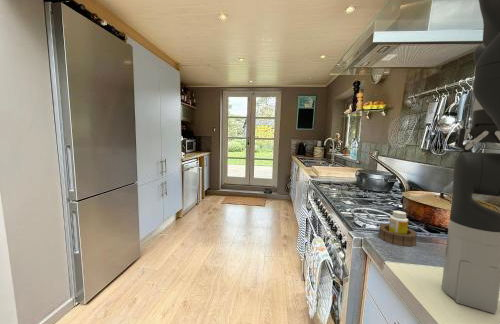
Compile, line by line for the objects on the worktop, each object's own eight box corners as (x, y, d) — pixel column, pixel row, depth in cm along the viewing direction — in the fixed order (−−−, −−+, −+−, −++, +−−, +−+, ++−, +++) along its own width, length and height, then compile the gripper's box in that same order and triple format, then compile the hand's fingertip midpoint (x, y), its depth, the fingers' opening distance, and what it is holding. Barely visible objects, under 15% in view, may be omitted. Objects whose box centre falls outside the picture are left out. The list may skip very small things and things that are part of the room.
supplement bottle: (408, 240, 81) (411, 212, 80) (403, 244, 78) (406, 215, 77) (391, 234, 85) (393, 208, 84) (385, 238, 82) (388, 211, 81)
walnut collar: (417, 249, 74) (418, 239, 73) (379, 241, 79) (379, 231, 79) (413, 237, 84) (413, 228, 83) (378, 230, 89) (379, 222, 89)
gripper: (465, 107, 66) (459, 162, 67) (534, 106, 60) (525, 165, 61) (455, 111, 73) (449, 160, 74) (516, 110, 67) (508, 163, 68)
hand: (484, 162), depth 68 cm, fingers open, 8 cm apart
